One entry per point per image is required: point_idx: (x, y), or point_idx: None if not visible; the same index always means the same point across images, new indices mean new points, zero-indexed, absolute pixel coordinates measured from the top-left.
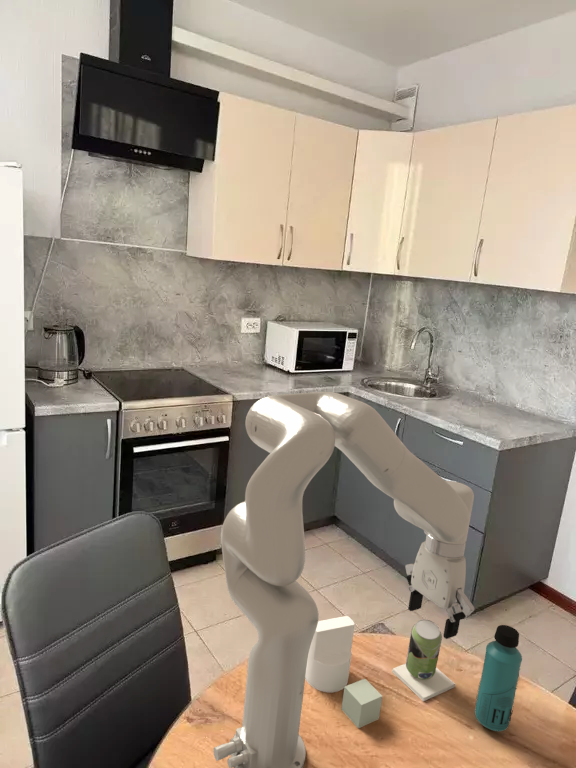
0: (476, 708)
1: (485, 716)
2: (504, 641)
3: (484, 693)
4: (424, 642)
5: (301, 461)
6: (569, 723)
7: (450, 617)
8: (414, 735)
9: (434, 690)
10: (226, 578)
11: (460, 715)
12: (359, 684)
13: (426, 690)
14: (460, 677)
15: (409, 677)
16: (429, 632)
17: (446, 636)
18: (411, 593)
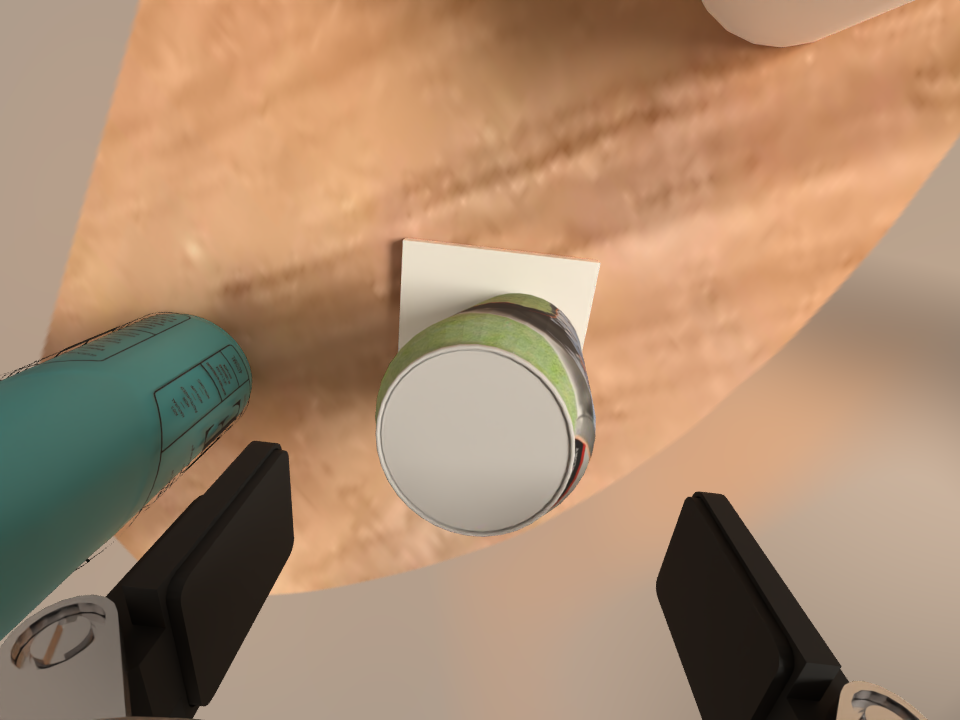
0: (202, 338)
1: (135, 322)
2: None
3: (80, 360)
4: (427, 339)
5: None
6: (134, 557)
7: (97, 646)
8: (285, 31)
9: (410, 314)
10: None
11: (287, 307)
12: None
13: (427, 286)
14: None
15: (518, 284)
16: (442, 429)
17: (246, 457)
18: (825, 662)
